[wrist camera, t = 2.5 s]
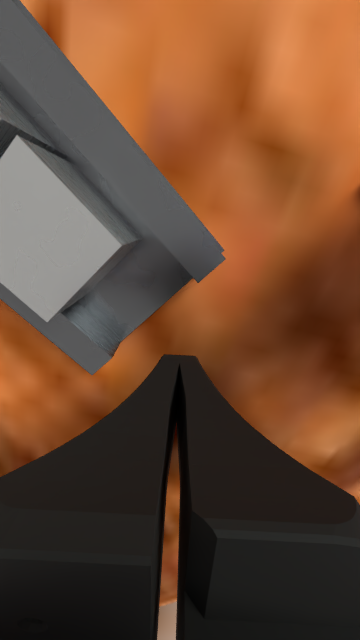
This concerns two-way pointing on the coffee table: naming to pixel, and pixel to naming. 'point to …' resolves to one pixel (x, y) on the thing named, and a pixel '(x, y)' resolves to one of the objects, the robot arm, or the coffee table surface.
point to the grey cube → (55, 230)
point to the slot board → (116, 186)
